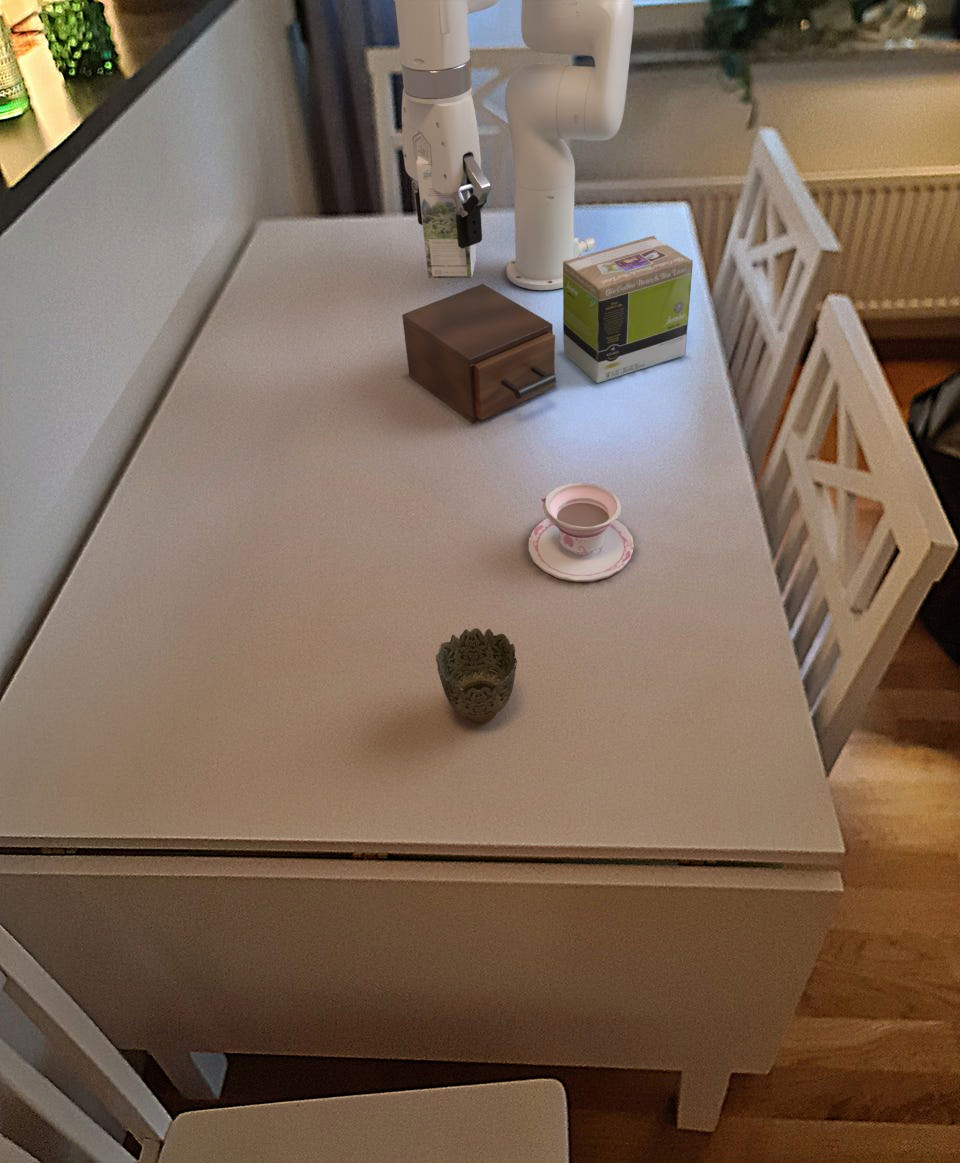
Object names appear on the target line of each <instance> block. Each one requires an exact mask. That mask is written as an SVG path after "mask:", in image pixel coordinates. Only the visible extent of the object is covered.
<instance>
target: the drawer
mask: <svg viewBox="0 0 960 1163" xmlns="http://www.w3.org/2000/svg"><path fill="white" fill-rule="evenodd" d="M473 369H474V385H475V401H476V416H477V417H478V418H479V419H481V420H480V421H483V420H485V419H488V418H490V417H492V416H494V415H496V414H498V413H501V412H502V411H503V412H504V411H505V410H507V409H509V408H512V407H514V406H516V405H518V404H521V403H522V402H524V401H527V400H530V399H531V398H533V397H535V396H538V395H540V394H542V393H544V392H546V391H549V390H552V389H553V388H555V387H556V386H555V385H556V382H557V377H556V335H555V334H551V333H550V332H549V333H547V334H544V335H542V336H540V337H538V336H537V337H535V338H533V339H530V340H528V341H526V342H523V343H521V344H519V345H516V346H514V347H512V348H509V349H507V350H505V351H502V352H500V353H498V354H495V355H493V356H491V357H488V358H486V359H484V360H481V361H479V362H476V363H474V365H473Z"/></svg>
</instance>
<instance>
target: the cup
mask: <svg viewBox="0 0 960 1163" xmlns="http://www.w3.org/2000/svg"><path fill="white" fill-rule="evenodd" d="M435 661H436V666H437V672H438V676H439V679H440V683H441V686H442V688H443V689H442V690H443V692H444V695H445V697H446V699H447V701H448V703H449V705H450V706H451V707H452V708H453V709H454V710H455V711H456V712H457V713H459V714H461V715H462V716H463V717H465V719H467V720H468V721H469V722H471V723H475V724H485V723H488V722H490V721H492V720H493V719H494V718H495V717H496V716H497V714H498V713H499V712H501V711H502V710H503V709H504V708H505V707H506V705H507V704H508V702H509V701H510V698H511V696H512V694H513V690H514V684H515V677H516V671H517V664H518V659H517V657H516V647H515V645H514V643H510V640H509V638H508V637H507V636H506V635H505V634H504V633H498V634H496V635H494V632H493V631H492V629H491V628H487V629H486V630H485V632H484V633H483V632H482V630H481V629H480V628H477V627H475V628H473V629H471V630H468V629H467V628H465V629H464V630H463V631H462V633H461V634H460V635H459V638H458V637H457V635H455V634H452V635H451V637H450V641H444V642H441V643H440V645H439V649H438V651H437V653H436V654H435Z"/></svg>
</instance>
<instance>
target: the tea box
mask: <svg viewBox="0 0 960 1163" xmlns="http://www.w3.org/2000/svg"><path fill="white" fill-rule="evenodd" d="M693 264H694V262H693V259H691V258H689V257H688V256H685V255H684V254H682V253H681V252H680V251H678V250H676V249H674V248H673V247H672V246H670V245H668V244H667V243H665V242H663V241H662V240H660V239H659V238H657V237H655V235H651V236H647V237H644V238H641V239H637V240H633V241H630V242H626V243H623V244H620V245H615V246H612V247H609V248H605V249H601V250H599V251H594V252H591V253H588V254H584V255H581V256H579V257H577V258H575V259H571V260H566V261H564V262H563V288H562V293H563V294H562V307H563V308H562V309H563V310H562V311H563V312H562V313H563V315H562V323H563V324H562V330H563V331H562V332H563V333H562V334H563V337H562V338H563V353H564V354H565V356H566V357H567V358H568V359H569V360H570V361H571V362H572V363H573V364H575V366H577V367H578V368H579V369H580V370H581V371H583V373H585V375H587V376H588V377H589V378H590V379H592V381H594V382H595V383H596V384H599V383H602V382H605V381H608V380H612V379H615V378H619V377H620V376H624V375H627V374H630V373H634V372H636V371H639V370H643V369H646V368H649V367H652V366H655V365H659V364H662V363H665V362H668V361H670V360H674V359H678V358H680V357H684V356H685V355H686V351H687V350H686V348H687V339H688V325H689V316H690V303H691V290H692V277H693Z"/></svg>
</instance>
